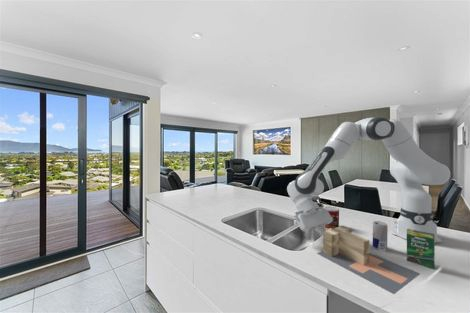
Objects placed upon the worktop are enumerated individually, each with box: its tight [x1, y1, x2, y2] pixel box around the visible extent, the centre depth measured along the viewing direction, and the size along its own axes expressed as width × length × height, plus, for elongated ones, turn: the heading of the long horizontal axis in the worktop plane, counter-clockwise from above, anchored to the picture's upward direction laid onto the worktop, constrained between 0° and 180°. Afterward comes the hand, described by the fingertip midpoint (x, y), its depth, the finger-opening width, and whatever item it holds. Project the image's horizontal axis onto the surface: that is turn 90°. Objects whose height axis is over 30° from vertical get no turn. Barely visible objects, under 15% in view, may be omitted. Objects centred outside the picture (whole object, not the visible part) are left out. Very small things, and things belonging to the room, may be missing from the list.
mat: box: [316, 250, 421, 295], centre depth 78 cm, size 20×28×1 cm
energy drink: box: [372, 220, 389, 252], centre depth 89 cm, size 5×5×12 cm
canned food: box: [324, 206, 340, 230], centre depth 116 cm, size 8×8×11 cm
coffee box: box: [406, 229, 436, 270], centre depth 77 cm, size 8×3×13 cm, turn 39°
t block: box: [322, 225, 370, 265], centre depth 83 cm, size 14×14×9 cm
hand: (324, 235), depth 93 cm, fingers closed
